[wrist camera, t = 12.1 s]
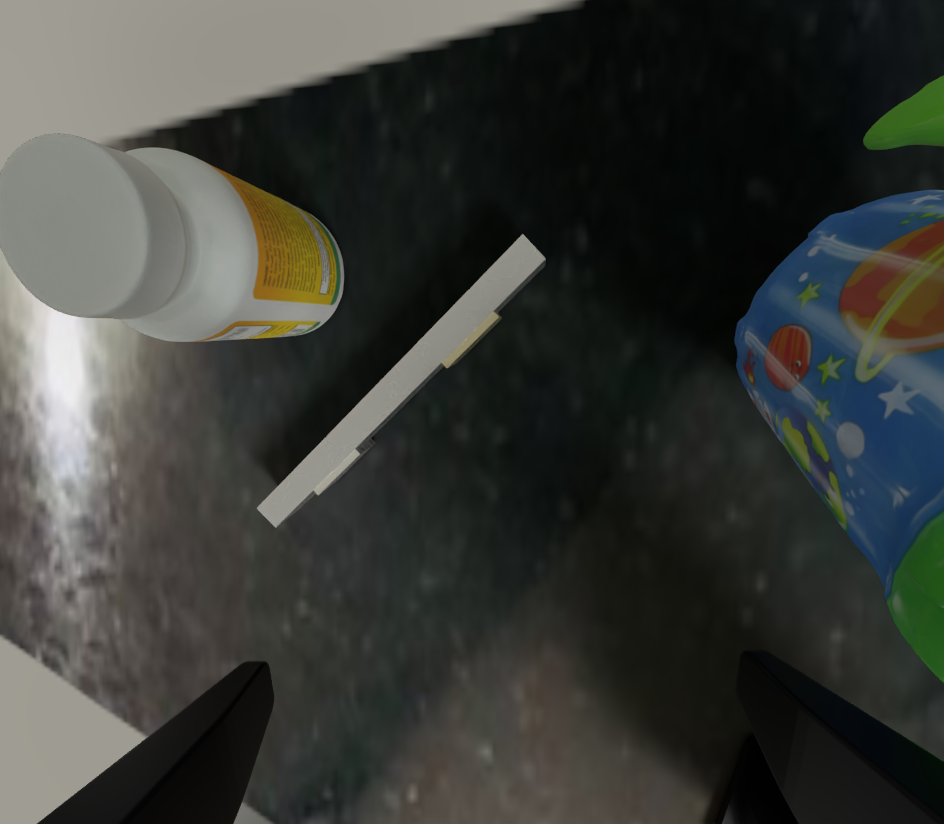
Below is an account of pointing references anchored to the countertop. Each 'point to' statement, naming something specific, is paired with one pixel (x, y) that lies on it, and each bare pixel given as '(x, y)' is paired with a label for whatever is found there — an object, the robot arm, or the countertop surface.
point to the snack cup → (868, 375)
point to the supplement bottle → (163, 243)
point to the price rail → (407, 379)
